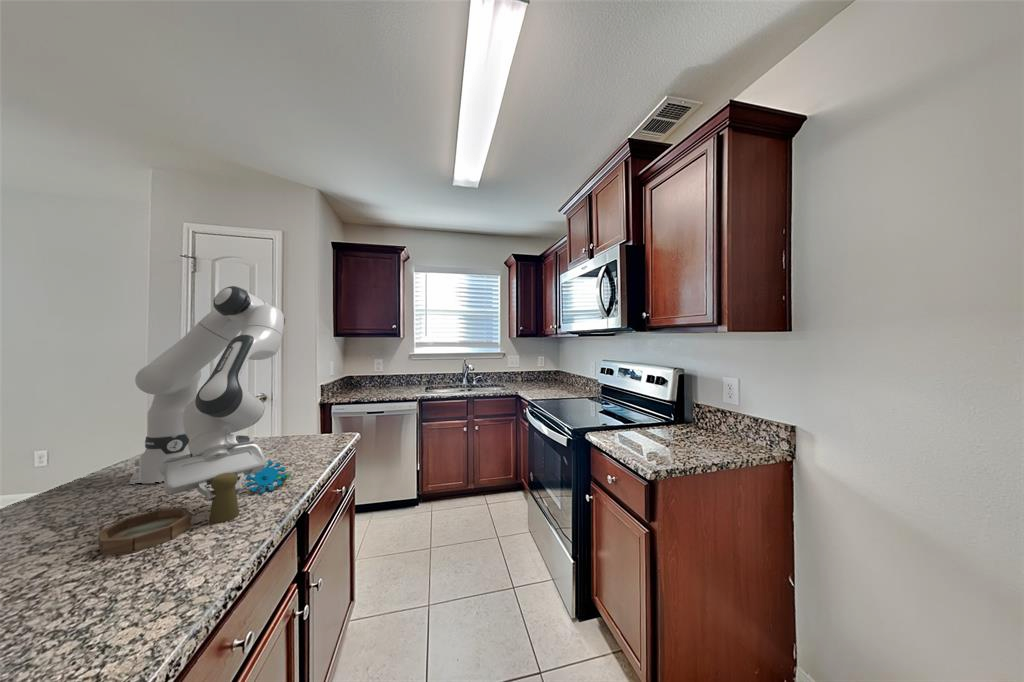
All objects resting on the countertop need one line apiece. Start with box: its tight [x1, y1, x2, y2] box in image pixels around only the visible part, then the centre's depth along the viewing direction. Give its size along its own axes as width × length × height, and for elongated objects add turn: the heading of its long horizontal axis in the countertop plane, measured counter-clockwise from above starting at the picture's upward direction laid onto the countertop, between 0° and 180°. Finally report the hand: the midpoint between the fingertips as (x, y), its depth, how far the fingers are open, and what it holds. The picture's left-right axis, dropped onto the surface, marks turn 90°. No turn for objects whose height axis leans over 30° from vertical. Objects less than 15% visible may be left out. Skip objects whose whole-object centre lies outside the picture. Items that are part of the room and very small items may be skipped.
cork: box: [208, 473, 240, 525], centre depth 87 cm, size 6×6×11 cm
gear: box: [245, 460, 291, 494], centre depth 105 cm, size 11×6×10 cm
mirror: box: [98, 507, 192, 556], centre depth 79 cm, size 14×14×3 cm
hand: (225, 495), depth 86 cm, fingers closed on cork, 4 cm apart
